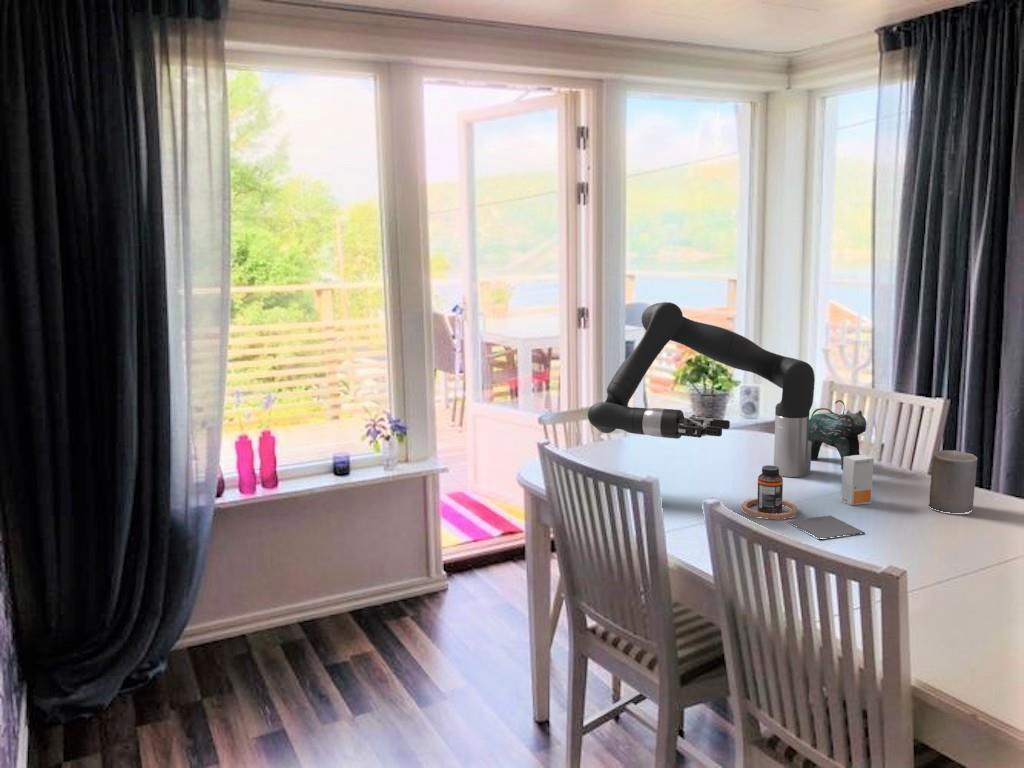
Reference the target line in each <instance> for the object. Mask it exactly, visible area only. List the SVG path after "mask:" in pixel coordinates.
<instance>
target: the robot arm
mask: <svg viewBox="0 0 1024 768" xmlns="http://www.w3.org/2000/svg"><path fill="white" fill-rule="evenodd" d="M683 315H684V314H683V311H682V309H681V308H680V307H679V306H678V305H677V304H675V303H673V302H667V301H665V302H664V301H663V302H658V303H654V304H651V305H649V306H647V308H645V309H644V310H643V312H642V315H641V324H642V326H643V328H644V330H645V333H644V334H643V336H642V338H641V340H640V341H639V343H638V344H637V346H635V348H634V349H633V351H631V353H630V354H629V355H628V357H626V358H625V360H624V361H622V363H621V364H620V366H619V367H618V369H617V371H616V372H615V374H614V375H613V377H612V378H611V380H610V382H609V384H608V386H607V389H606V393H607V397H606V400H605V401H601V402H597V403H594V404H593V405H591V406H590V408H589V409H588V412H587V419H588V422H589V423H590V424H591V425H592V426H593V427H594V428H596V430H598V431H600V432H601V433H604V434H610V433H612V432H614V431H616V430H621V431H624V432H626V433H629V434H635V435H644V436H645V435H646V436H650V437H657V438H667V439H674V440H675V439H676V440H680V439H681V437H690V438H691V437H692V438H699V439H701V438H702V437H706V436H710V437H721V436H722V435H723V430H729V429H730V428H731V427H730V426H731V421H730V420H729V419H728V420H727V419H716V418H715V416H711V415H710V416H709V415H708V416H707V415H695V414H691V416H689V417H688V418H686V417H685V416H684V412H683V411H682V409H673V408H672V409H671V408H661V407H660V408H659V407H649V408H648V407H635V406H634V407H630V406H628V405H629V402H630V400H631V399H632V398H633V396H634V394H635V392H636V391H637V389H638V387H639V386H640V384H641V383H642V380H643V378H644V376H646V373H647V372H648V370H650V367H651V366H652V364H653V363H654V362H655V360H656V359H657V357H658V356H659V354H660V353H661V351H662V350H663V349H664V348H665V347H666V345H667V344H668V343H669V342H670V341H672V342H675V343H677V344H680V345H683V346H685V347H686V348H689V349H691V350H693V351H695V352H696V353H699V354H701V355H703V356H705V357H707V358H708V359H709V358H710V359H711V360H714V361H716V362H718V363H720V364H722V365H725V366H727V367H730V368H733V369H736V370H740V371H744V372H749V373H752V374H755V375H757V376H759V377H761V378H763V379H765V380H767V381H769V382H770V383H771V384H773V385H775V386H777V387H778V388H780V389H782V392H781V400H780V402H778V403H777V404H776V405H775V408H774V409H775V417H774V440H773V441H774V444H773V445H774V446H773V450H774V451H773V466H777V467H778V468H779V475H780V476H781V477H786V478H787V477H788V478H801V477H805V476H807V475H810V474H811V466H812V463H811V462H812V461H811V441H808V440H809V419H810V415H811V414H810V411H811V409H812V407H813V404H814V403H813V402H814V396H815V395H814V393H815V384H816V383H815V381H816V379H815V377H816V376H815V372H814V369H813V367H812V365H811V364H810V363H808V362H806V361H804V360H801V359H797V358H794V357H793V358H792V357H789V356H785V355H780V354H777V353H774V352H771V351H769V350H766V349H764V348H762V347H761V346H759V345H758V344H756V343H755V342H754V341H752V340H751V339H749V338H747V337H745V336H743V335H741V334H738V333H737V332H734V331H732V330H730V329H727V328H724V327H720V326H717V325H713V324H709V323H703V322H699V321H695V320H692V319H690V318H687V317H685V316H683ZM708 422H709V423H708Z"/></svg>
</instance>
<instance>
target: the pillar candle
mask: <svg viewBox="0 0 1024 768" xmlns="http://www.w3.org/2000/svg"><path fill="white" fill-rule="evenodd" d="M931 462H932V463H931V473H930V474H931V475H930V487H929V503H928V507H929V506H930V507H931V508H933V509H936V510H939V511H943V512H950V513H965V512H969V511H971V510H973V509H974V503H975V502H974V501H975V488H976V477H977V467H978V457H977V456H976V455H974V454H973V453H968V452H966V451H965V452H964V451H959V450H958V451H957V450H956V449H954V450H945V449H943V450H937V451H934V452H933V453H932V461H931ZM930 507H929V508H930ZM931 508H930V509H931ZM973 511H974V510H973Z"/></svg>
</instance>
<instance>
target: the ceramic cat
mask: <svg viewBox="0 0 1024 768" xmlns="http://www.w3.org/2000/svg"><path fill="white" fill-rule="evenodd" d="M838 402H839V403H842V405H843V412H842V414H839V413H836V412H834V411H832V410H831V409H829V408H825V407H823V408H822V407H821V408H816V409H815V410H814V411H813V412H812V414H811V416H810V417H809V440H808V441H811V462H812V461H817V460H818V459H819V454H820V450H821V446H822V444H825V445H828V446H830V447H833V448H835V449H836V450H837V452H838V453H839V457H840V460H841V467H840V468H841V471H843V459H844V457H845V456H852V455H861V454H860V440H859V435H862V434H864V433H865V432H866V431H867V419H866V418H865V417H864V416H863V412H862V410H861V409H860V410H858V411H857V412H851V411H850V410H849V409H847V411H846V409H845V407H846V406H845V403H844V401H843V400H842V399H838V400H836V401H835V402H834V404H835V405H836V404H837V403H838ZM822 410H824V411H825V410H826V411H829V412H821V413H816V412H818V411H822ZM845 411H846V413H845Z"/></svg>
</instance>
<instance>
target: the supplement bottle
mask: <svg viewBox="0 0 1024 768" xmlns="http://www.w3.org/2000/svg"><path fill="white" fill-rule="evenodd" d="M783 486H784V479H783V476H781V475H779V468H778V467H777V466H774V465H772V464H771V465H769V464H768V465H767V464H766V465H763V466H762V468H761V473H760V474H759V475H758V477H757V498H758V499H757V504H756V505H757V511H758V512H763V513H770V514H776V513H777V514H780V513H782V511H783V506H782V500H783V489H784V487H783Z"/></svg>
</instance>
